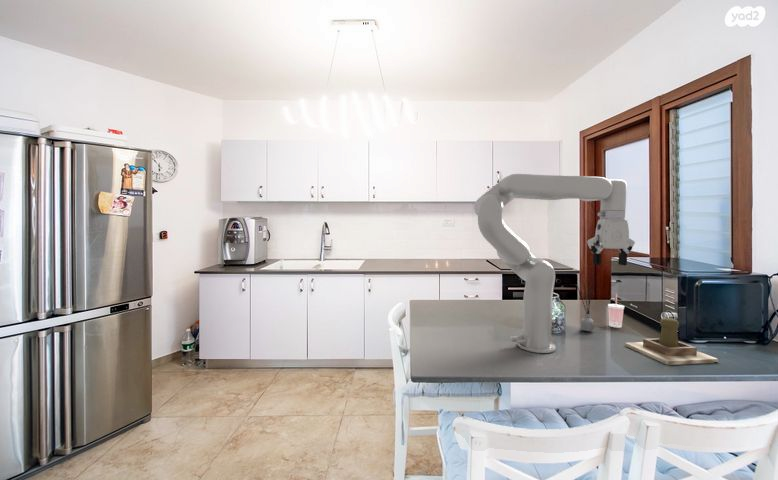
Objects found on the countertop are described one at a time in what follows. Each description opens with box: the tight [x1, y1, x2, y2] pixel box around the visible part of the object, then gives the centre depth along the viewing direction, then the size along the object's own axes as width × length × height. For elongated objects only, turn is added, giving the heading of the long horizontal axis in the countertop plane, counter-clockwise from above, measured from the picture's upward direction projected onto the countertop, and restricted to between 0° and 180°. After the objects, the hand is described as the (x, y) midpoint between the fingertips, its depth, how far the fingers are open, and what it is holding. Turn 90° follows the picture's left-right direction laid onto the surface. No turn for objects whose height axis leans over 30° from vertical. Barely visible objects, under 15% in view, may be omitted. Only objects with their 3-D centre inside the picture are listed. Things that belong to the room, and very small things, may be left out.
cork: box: [658, 317, 680, 347], centre depth 128 cm, size 6×6×11 cm
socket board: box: [624, 337, 719, 366], centre depth 129 cm, size 18×18×4 cm
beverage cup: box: [607, 293, 625, 329], centre depth 162 cm, size 6×6×14 cm
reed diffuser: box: [576, 281, 595, 332], centre depth 154 cm, size 10×7×20 cm
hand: (609, 264), depth 132 cm, fingers open, 9 cm apart
